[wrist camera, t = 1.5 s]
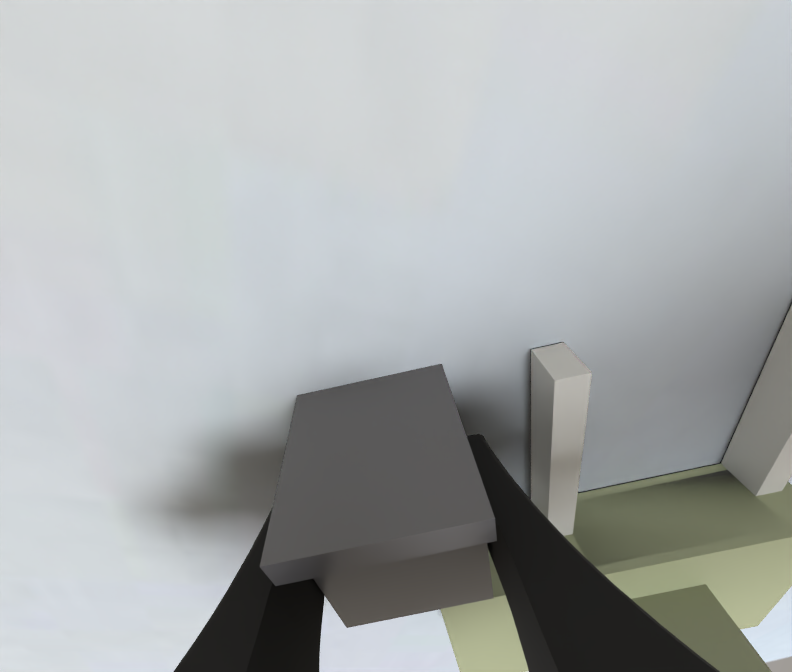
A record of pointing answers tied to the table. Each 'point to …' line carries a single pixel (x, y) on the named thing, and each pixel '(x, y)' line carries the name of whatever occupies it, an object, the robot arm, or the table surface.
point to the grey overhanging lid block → (382, 500)
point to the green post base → (659, 523)
